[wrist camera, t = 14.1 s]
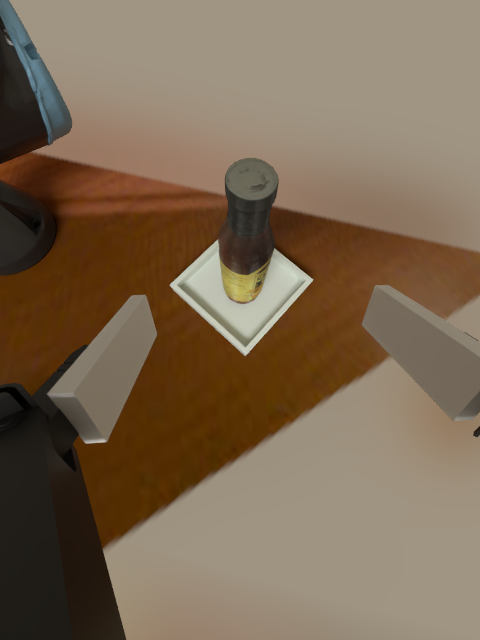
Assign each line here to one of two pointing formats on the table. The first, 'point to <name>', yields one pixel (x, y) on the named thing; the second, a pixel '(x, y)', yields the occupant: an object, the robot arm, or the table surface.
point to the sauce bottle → (247, 229)
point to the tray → (233, 318)
